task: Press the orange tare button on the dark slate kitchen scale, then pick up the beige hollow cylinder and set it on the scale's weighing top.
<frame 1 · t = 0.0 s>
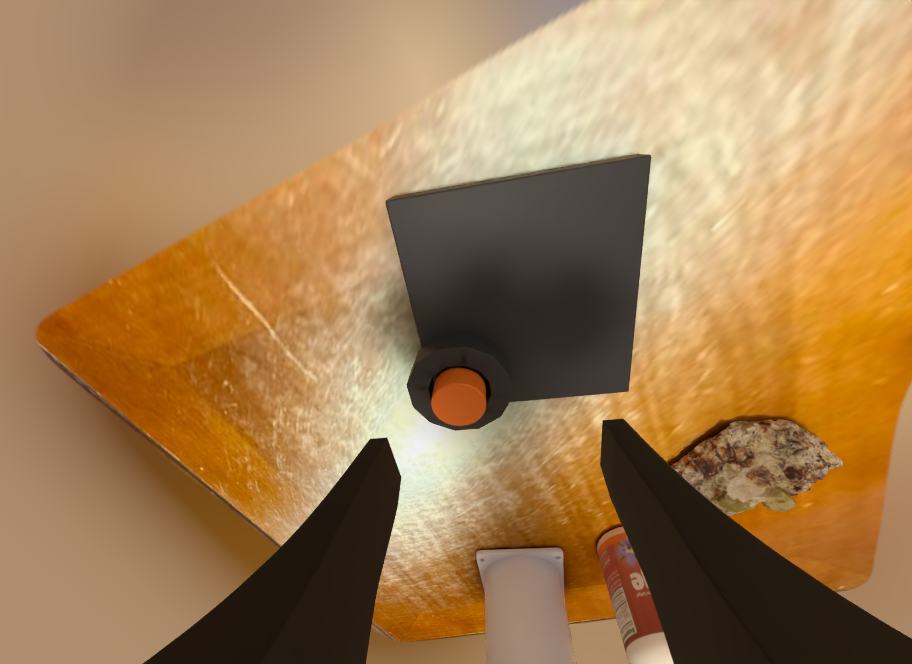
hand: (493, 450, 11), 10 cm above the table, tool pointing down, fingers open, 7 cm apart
pill bottle: (629, 540, 30), on the table
tare button: (459, 396, 19), point 3 cm above the table, slide at 0.1 cm
mineral rock: (725, 458, 25), on the table
scale: (519, 298, 20), on the table
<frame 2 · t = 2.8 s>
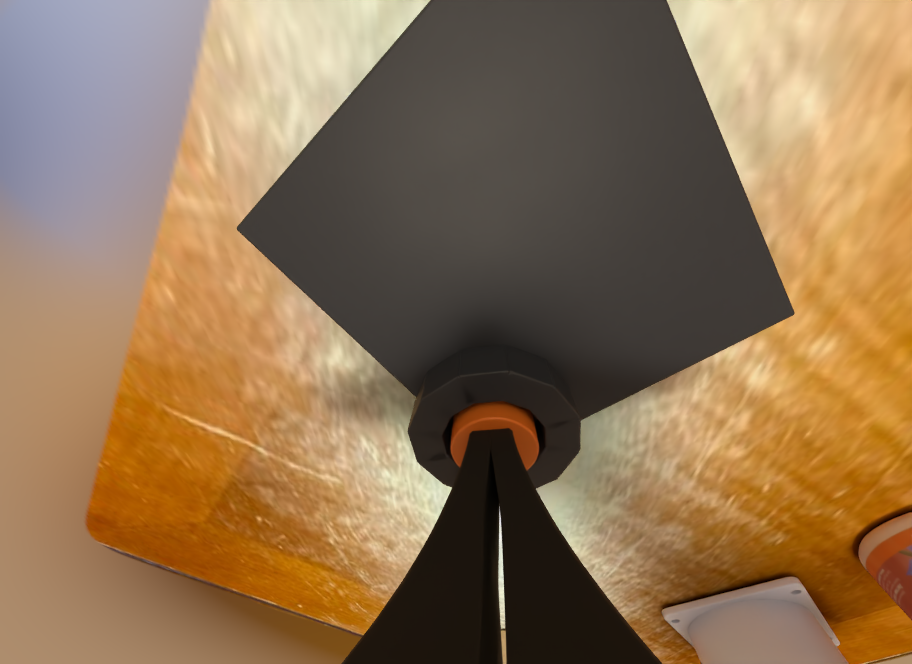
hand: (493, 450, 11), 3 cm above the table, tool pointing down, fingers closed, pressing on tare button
tare button: (493, 434, 12), point 3 cm above the table, slide at -0.6 cm, touching gripper
scale: (515, 259, 12), on the table
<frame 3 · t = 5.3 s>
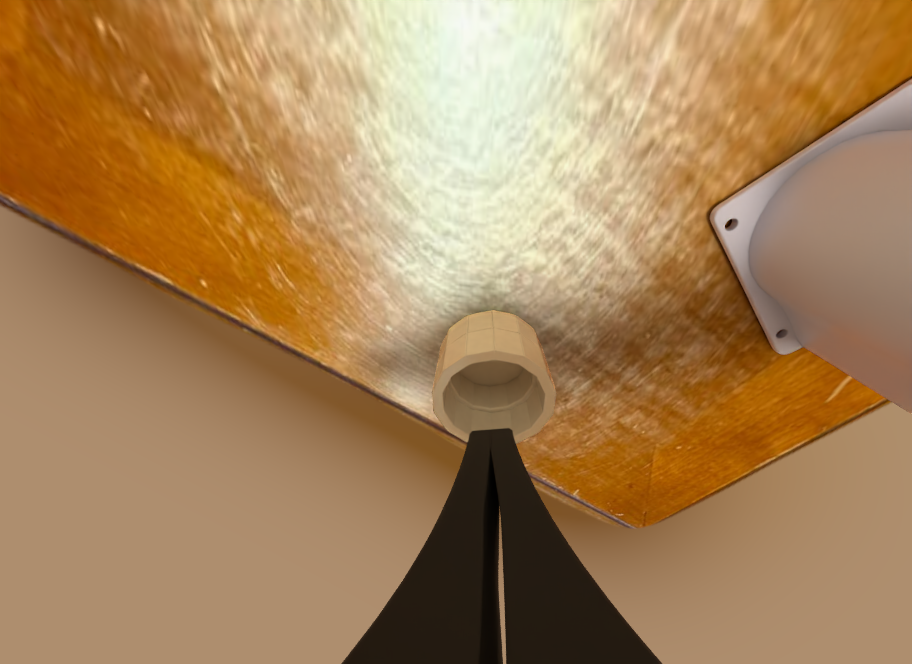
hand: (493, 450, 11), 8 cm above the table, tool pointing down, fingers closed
beige hollow cylinder: (490, 350, 19), on the table
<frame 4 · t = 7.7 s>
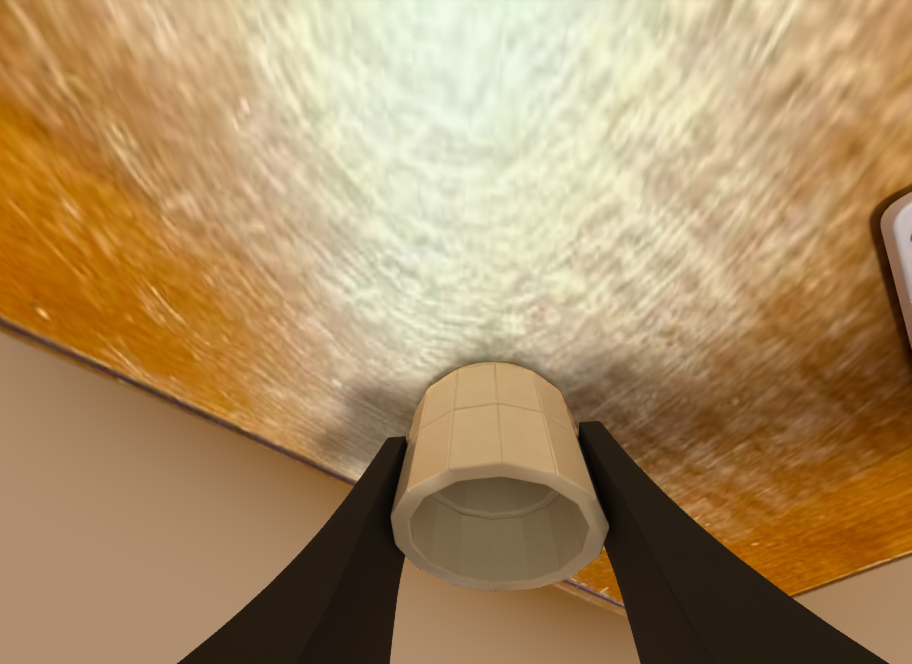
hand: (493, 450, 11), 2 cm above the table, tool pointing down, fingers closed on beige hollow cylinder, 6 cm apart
beige hollow cylinder: (491, 417, 13), on the table, touching gripper
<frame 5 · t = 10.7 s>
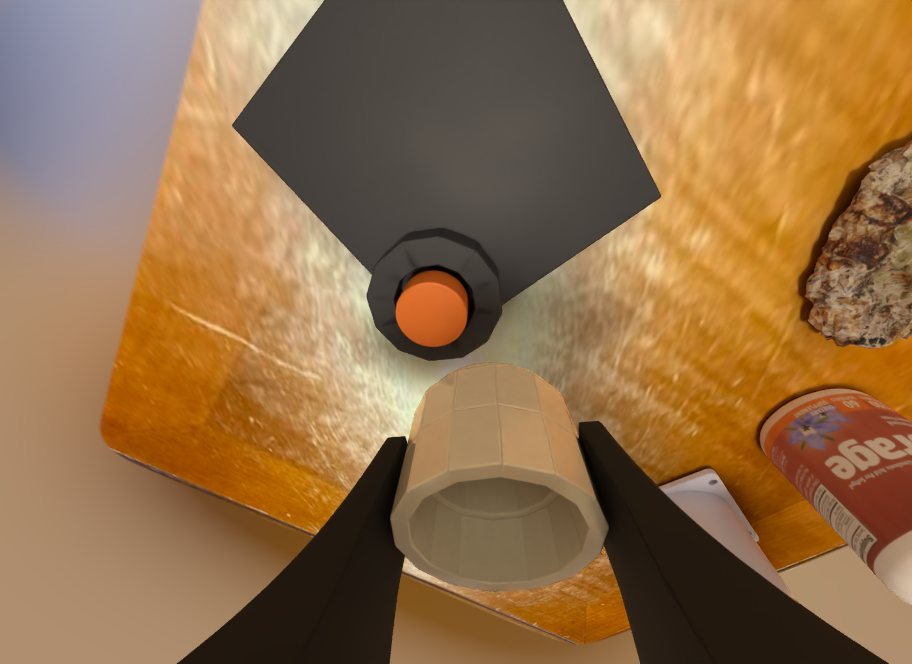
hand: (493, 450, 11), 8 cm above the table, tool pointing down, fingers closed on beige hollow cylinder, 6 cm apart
beige hollow cylinder: (490, 418, 13), point 7 cm above the table, touching gripper
pill bottle: (808, 422, 21), on the table
tare button: (433, 308, 15), point 3 cm above the table, slide at 0.1 cm
mineral rock: (897, 231, 15), on the table
scale: (451, 160, 15), on the table
when the fingers open (3 cm above the table, at t = 13.6 s): beige hollow cylinder stays where it is, resting on scale.
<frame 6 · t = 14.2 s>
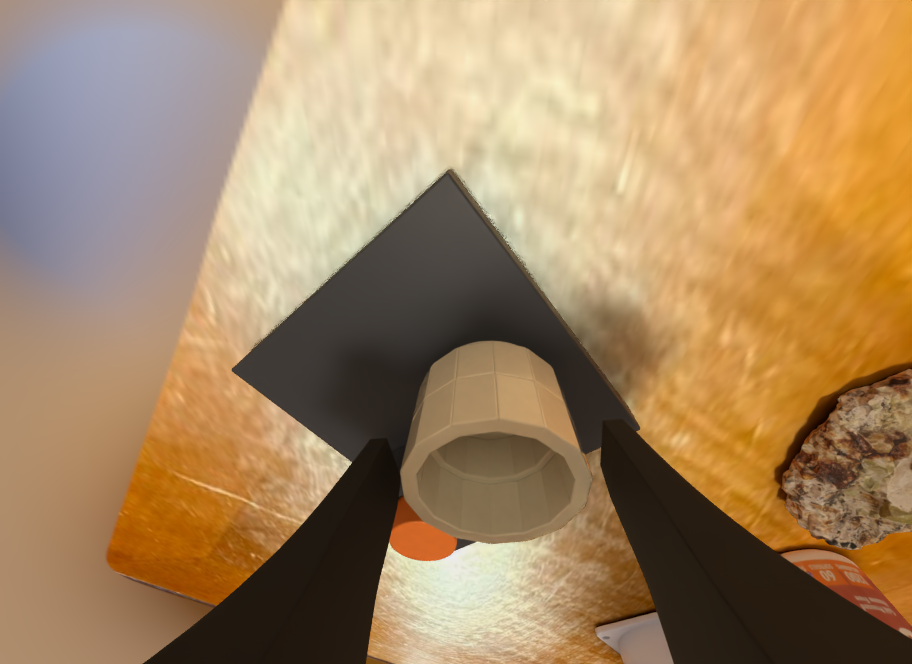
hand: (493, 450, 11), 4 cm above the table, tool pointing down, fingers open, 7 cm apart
beige hollow cylinder: (489, 393, 14), point 1 cm above the table, touching scale
pill bottle: (789, 569, 22), on the table
tare button: (424, 525, 15), point 3 cm above the table, slide at 0.1 cm
mineral rock: (867, 437, 16), on the table
scale: (441, 380, 16), on the table
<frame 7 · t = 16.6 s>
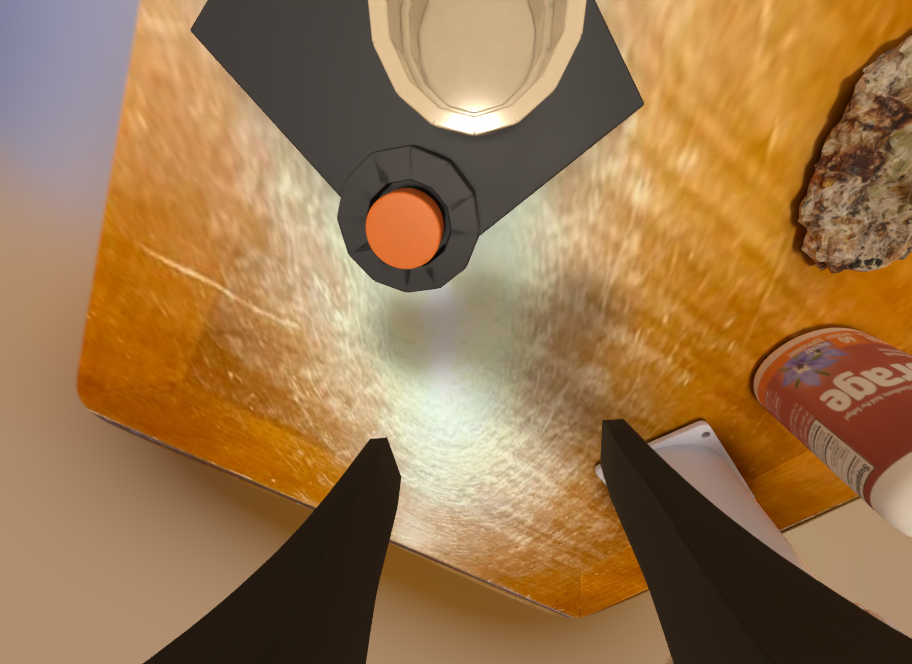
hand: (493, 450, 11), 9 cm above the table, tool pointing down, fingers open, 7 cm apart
beige hollow cylinder: (476, 50, 13), point 1 cm above the table, touching scale
pill bottle: (803, 368, 20), on the table
tare button: (406, 228, 14), point 3 cm above the table, slide at 0.1 cm
mineral rock: (894, 147, 15), on the table
scale: (424, 74, 14), on the table
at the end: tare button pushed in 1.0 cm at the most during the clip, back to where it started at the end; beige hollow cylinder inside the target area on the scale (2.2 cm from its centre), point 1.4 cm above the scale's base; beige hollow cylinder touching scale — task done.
